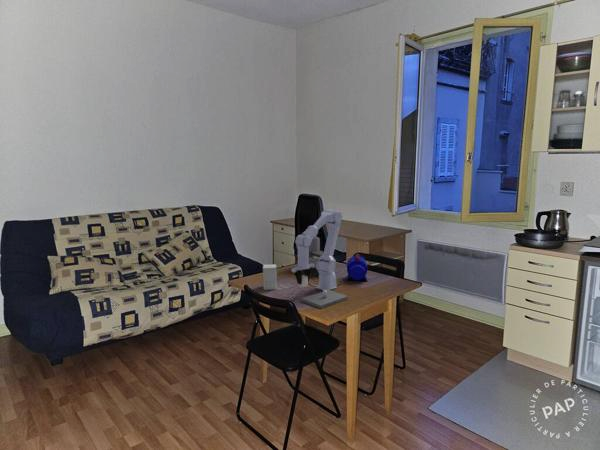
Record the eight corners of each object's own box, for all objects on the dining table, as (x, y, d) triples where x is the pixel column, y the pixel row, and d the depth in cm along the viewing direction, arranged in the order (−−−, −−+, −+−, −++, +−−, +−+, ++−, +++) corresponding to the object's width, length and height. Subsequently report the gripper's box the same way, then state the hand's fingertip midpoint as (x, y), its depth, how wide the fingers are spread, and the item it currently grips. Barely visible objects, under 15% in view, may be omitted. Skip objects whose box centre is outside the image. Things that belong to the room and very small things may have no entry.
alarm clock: (366, 276, 255) (367, 252, 252) (367, 282, 243) (368, 257, 240) (346, 276, 256) (346, 252, 253) (346, 282, 244) (347, 257, 241)
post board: (328, 292, 226) (328, 283, 225) (348, 298, 215) (348, 289, 215) (301, 301, 212) (301, 291, 211) (320, 308, 202) (320, 298, 201)
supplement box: (276, 285, 238) (276, 264, 235) (276, 289, 230) (276, 267, 228) (263, 285, 237) (263, 264, 235) (263, 289, 230) (262, 267, 228)
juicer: (291, 267, 277) (291, 230, 272) (311, 263, 285) (311, 228, 281) (318, 278, 252) (318, 238, 248) (338, 273, 261) (339, 235, 257)
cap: (303, 283, 222) (303, 274, 221) (309, 285, 219) (309, 276, 218) (296, 285, 219) (296, 276, 218) (303, 287, 215) (303, 278, 215)
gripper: (298, 261, 209) (298, 287, 211) (318, 256, 218) (318, 281, 221) (288, 259, 214) (289, 284, 216) (309, 254, 223) (309, 278, 226)
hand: (303, 283), depth 219 cm, fingers closed on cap, 5 cm apart
